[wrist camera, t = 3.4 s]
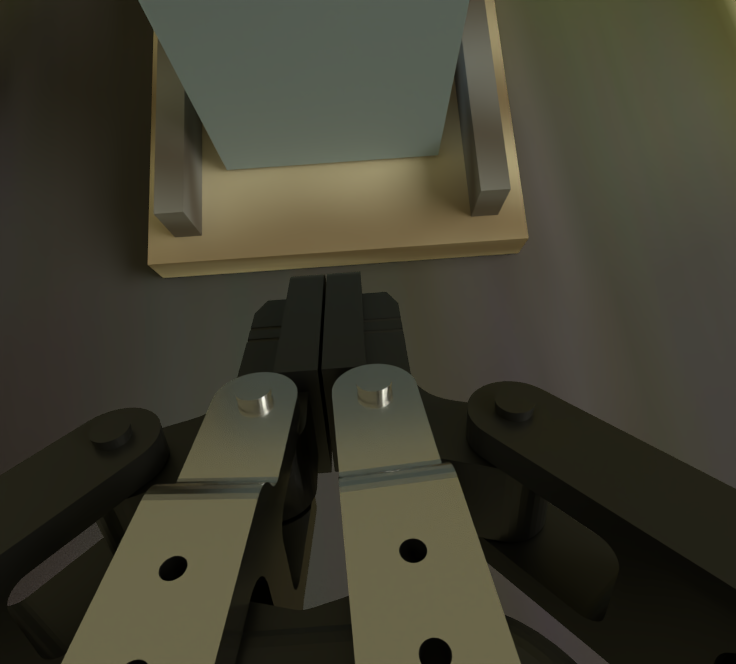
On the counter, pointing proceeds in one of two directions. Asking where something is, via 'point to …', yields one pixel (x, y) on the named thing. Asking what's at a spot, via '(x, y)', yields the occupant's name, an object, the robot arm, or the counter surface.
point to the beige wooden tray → (340, 185)
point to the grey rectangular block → (314, 75)
